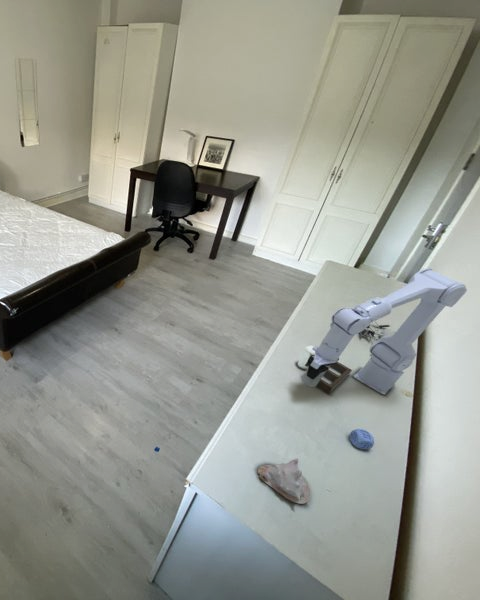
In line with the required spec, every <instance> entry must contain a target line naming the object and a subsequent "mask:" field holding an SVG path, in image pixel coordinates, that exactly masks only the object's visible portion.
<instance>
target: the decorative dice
mask: <svg viewBox="0 0 480 600" xmlns="http://www.w3.org/2000/svg"><path fill="white" fill-rule="evenodd" d="M349 440H350V442H351V444H352V445H353V446H354V447H356V448H358V449H359V450H370V449H372V448H373V447H374V446H375V438H374V436H373V434H371V433H370V432H369V431H368V430H366V429H362V428H355V429H353V430H351V431H350V432H349Z"/></svg>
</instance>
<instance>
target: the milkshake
mask: <svg viewBox="0 0 480 600" xmlns="http://www.w3.org/2000/svg"><path fill="white" fill-rule="evenodd" d="M314 346H315V345H306V346H305V347H304V348H303V351H302V354H301V355H300V357H299V360H298V361H297V366H298V368H300V369H302V370H307V368H308V359H309V358H310V357H311V356H312V357H313V358H314V356H315V351H314V350H312V348H313V347H314Z"/></svg>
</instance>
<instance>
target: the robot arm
mask: <svg viewBox="0 0 480 600" xmlns="http://www.w3.org/2000/svg"><path fill="white" fill-rule="evenodd" d="M467 291H468V289H467V286H466V285H465V284H464V283H462V282H458V281H456V280H454V279H452V278H450V277H448V276H447V275H444V274H442V273H440V272H438V271H435V270H433V269H432V268H430V267H427V268H423V269H420V270H418V271H417V272H415V274H414V273H413V275H412V276H411V277H410V278H409V280H408V281H407V284H405V285H403V286H401V287H400V288H398V289H396V290H394V291H392V292H391V293H389V294H388V295H386V296H383V297H380V296H379V297H378V296H376V297H372V298H370V299H368V300H366V301H364V302H362V303H359V304H357V305H355V306H353V307H342V308H339V309H338V310H337V311H335V313H334V314H332V316H331V319H330V320H331V323H330V324H329V327H330V328H329V330H328V331H327V333H326V334H325V336H324V337H323V339H322V341H321V342H320V344H319V345H318V346H317V345H313V346H314V347H313V348H312V350H314V351H315V356H314V358H313V357H312V356H311V357H310V358H309V359H308V371H307V376H308V377H309V378H311V379H312V380H313V379H315V378H316V377H317V376H318V375H319V374H320V373H322V372H325V371H327V370H328V369H329V370H330V367H329V368H328V367H326V366H325V364H330V363H331V364H333V363H336V362H339V360H340V357H341V355H342V354H343V352H344V351H345V349H346V348H347V347H348V345H349V344H350V342H351V341H352V339H353V338H354V337H355V335H358V334H361V332H362V331H363V330H364V329H365V328H366V327H368V326H369V325H370V326H371V324H372V322H373V323H374V322H375V321H376V322H377V321H379V320H380V319H382V318H384V317H387V316H389V315H390V314H391V313H392V309H394V308H395V309H396V308H398V307H400V306H402V305H406V304H408V303H410V302H411V303H412V302H414V301H416V300H418V299H422V300H421V301H420V302H419V303H418V305H416V306H415V308H414V309H413V310H412V312H411V313H410V314H409V315H408V316H407V318H406V319H405V320H404V322H402V323H401V325H400V326H399V328H397V330H395V334H394V335H393V336H384V337H379V339H377V340H376V341H374V343H372V345H371V346H370V347H369V353H370V354H369V359H368V361H367V362H366V363H365V365H364V366H363V367H361V368H360V369H359V371H357V372H356V373H355V374H354V375H353V378H354V379H355V380H357V381H359V382H360V383H362V384H364V385H366V386H368V387H369V388H371V389H372V390H374V391H376V392H378V393H380V394H381V395H383V396H384V395H386V394H387V393H388V391H389V390H392V389H393V388H394V387H395V386H396V383H397V381H398V380H399V379H400V378H401V377H402V376H403V375H404V373H405V371H404V370H407V369H408V368H409V367H410V366H411V365H413V361H414V360H415V358H416V357H417V355H418V354H417V352H416V350H415V348H414V346H413V344H414V343H415V341H417V339H418V338H419V337H420V336H421V335H422V334H423V333H424V331H425V330H426V329H427V328H428V327H429V326H430V324H432V322H433V321H434V320H435V319H436V318H437V317H438V316H439V314H440V313H441V312H442V311H443V310H444V309H445V308H446V307H449V308H452V307H454V306H455V305H456V304H457V303H458V302H459V301H460V300H461V299H462V298H463V297H464V295H465V294H466V293H467Z"/></svg>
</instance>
